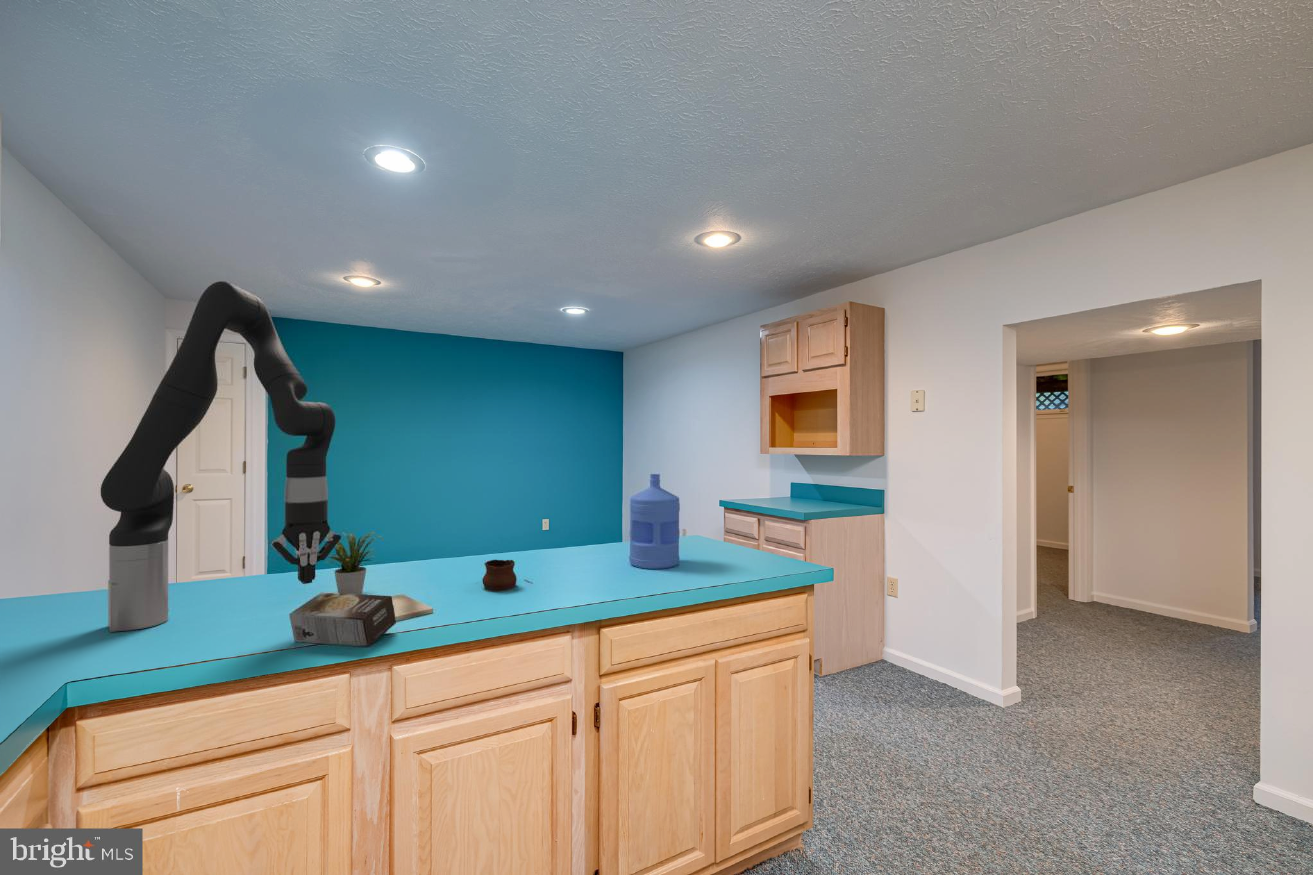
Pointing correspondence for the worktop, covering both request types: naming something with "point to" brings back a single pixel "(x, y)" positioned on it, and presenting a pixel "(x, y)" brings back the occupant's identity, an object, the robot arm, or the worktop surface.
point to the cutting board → (408, 607)
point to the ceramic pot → (499, 575)
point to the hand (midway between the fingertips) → (306, 582)
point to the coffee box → (343, 619)
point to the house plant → (351, 565)
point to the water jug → (654, 527)
